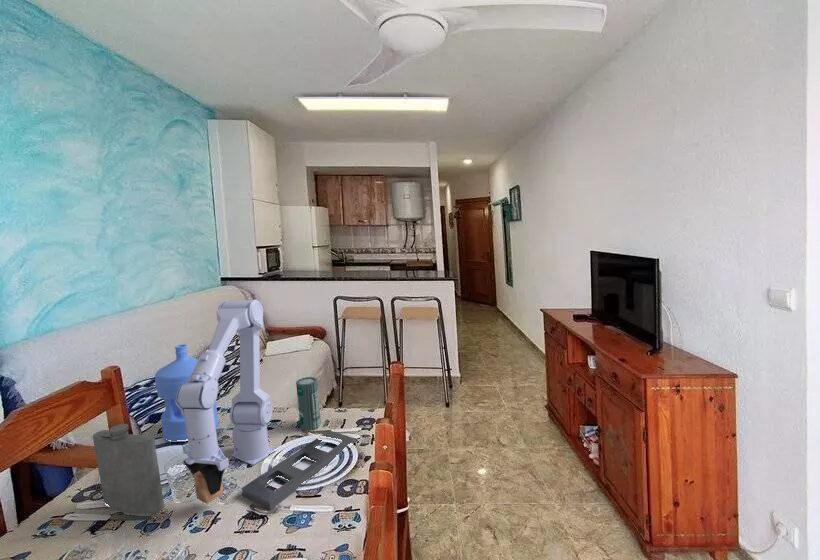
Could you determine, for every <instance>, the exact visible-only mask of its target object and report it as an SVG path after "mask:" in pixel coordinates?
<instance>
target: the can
mask: <svg viewBox="0 0 820 560" xmlns="http://www.w3.org/2000/svg"><path fill="white" fill-rule="evenodd" d="M318 383H319V382H318V378H316V377H315V376H306V377H302V378H299V379H298V380H296V382H295V387H296V395H297V396H296V397H297V406H298V409H297V410H298V417H299V428H300V429H301V430H302V431H305V432H306V431H307V432H309V431H311V430H312V429H313V430H312V431H314V430H317V429H319V428H320V427H321V426H320V425H322V421H321V419H322V418H321V411H320V410H321V409H320V396H319V387H318V385H319V384H318ZM319 426H320V427H319ZM318 427H319V428H318Z"/></svg>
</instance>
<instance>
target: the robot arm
mask: <svg viewBox="0 0 820 560" xmlns="http://www.w3.org/2000/svg"><path fill="white" fill-rule="evenodd" d="M216 319H217V322H218V323H217V325H216V328H215V331H214V333H213V336H212V339H211V342H210V344H209V347H208V350H206V351H203V352H202V353H201V354H200V356H199V358H197V359H198V362H197V364H196V366H195V368H194V370H193V372H192V374H191V376H190V378H189V380H188V382H186V383H185V384H183V385H182V386H180V388H179V389H178V392H177V396H176V400H175V402H176V405H177V407H178V408H180V410H181V415H183V416H184V417H185V423H186V430H187V437H188V442H186V443H184V444H183V445H182V451H183V454H184V455H187V458H185V460H184V461H183V464H184V466H185V467H186V468H187V469H188V470H189V472H190V473H191V475H192V476H193V478H194V474H195V473H197V472H198V471H200V472H201V474H202V475H203V476H204V478H205V480H206V483H207V487H208V490H209V492H210V494H211V495H213V494H215V493H216V492H218V491H220V488H221V482H222V483H223V481H222V480H223V476H224V472H225V470H226V469H227V468H228V467H230V464H229V462H230V461H229V457H226V456H225V454H224V453H223V451H222V450H221V448H220V446H219V442H218V437H217V436H218V435H217V428H216V426H215V418H214V411H213V404H214V403H215V401H217V399H218V389H219V382H218V381H219V378H220V376H221V375H222V372H223V369H224V367H225V365H226V358H225V356H224V354H225V352H226V351H227V350H228V347H229V345H230V344H231V341H232V340H233V338H234V336H235V334H236V332H237V333H238V334H239V392H238V393H237V394H236V395H235V396H233V397H232V399H231V407H230V410H229V420H230V423H232V425H233V426H234V427H233V429H232V433H231V434H232V435H231V436H232V442H233V443H232V445H233V451H234V452H233V453H232V454H231V457H233V458H235V459H238V460H239V461H243V462H244V463H246V464H249V465H251V466H254V465H256V464H258V463H259V462H260V461H263V460H264V459H266V458H267V457H268V455H269V454H270V453H271V452H272V451H274V450H275V449H276V448H274V447H272V446H270V444H269V442H270V441H269V435H268V427H267V426H268V424H269V423H270V421H271V418H272V415H273V406H272V402H271V395H269V394H268V393H267V392H266V391H264V390H263V389H261V378H260V377H261V364H260V363H261V362H260V361H261V359H260V355H261V354H260V353H261V352H260V347H261V346H260V330H262V329H263V328H264V307H263V305H262V303H261V302H260V301H259V300H258V299H251V300H250V299H248V300H247V299H245V300H243V299H241V300H227V299H226V300H225V299H224V300H222V301H221V302H220V303H219V304H218V308H217V311H216ZM270 455H271V454H270ZM270 455H269V456H270Z"/></svg>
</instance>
